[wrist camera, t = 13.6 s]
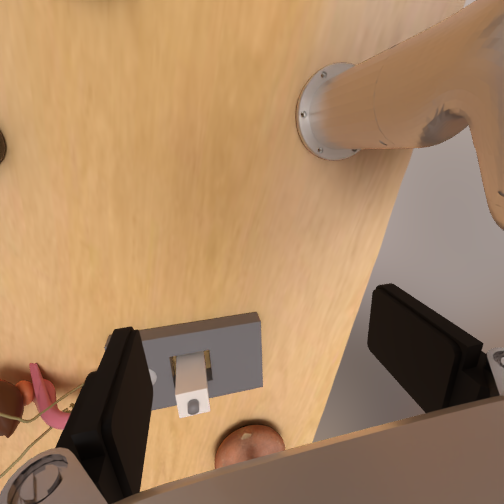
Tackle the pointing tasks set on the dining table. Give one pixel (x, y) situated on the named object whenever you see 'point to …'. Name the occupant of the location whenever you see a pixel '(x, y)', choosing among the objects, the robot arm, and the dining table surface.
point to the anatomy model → (23, 393)
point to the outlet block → (221, 355)
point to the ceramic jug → (248, 445)
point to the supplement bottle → (2, 147)
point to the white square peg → (191, 384)
